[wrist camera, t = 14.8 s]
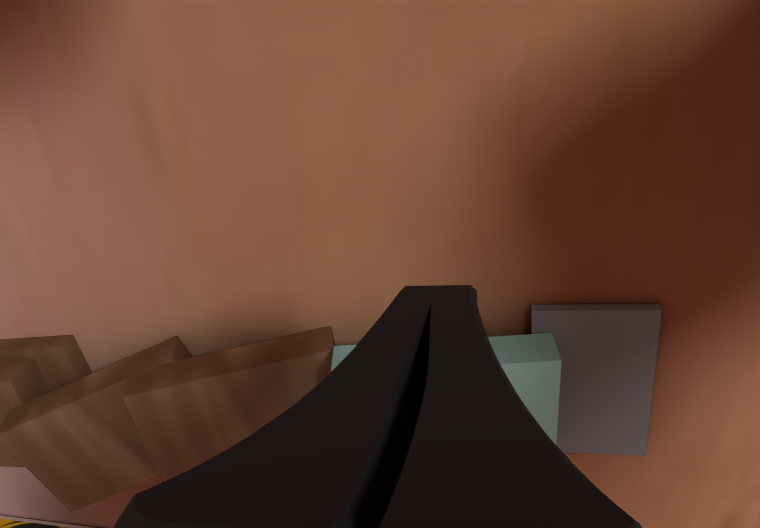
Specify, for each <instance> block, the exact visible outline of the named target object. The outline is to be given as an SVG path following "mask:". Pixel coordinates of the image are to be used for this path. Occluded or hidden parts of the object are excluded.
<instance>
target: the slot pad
mask: <svg viewBox="0 0 760 528" xmlns="http://www.w3.org/2000/svg"><path fill="white" fill-rule="evenodd" d="M661 315H662V309H661V306H660V304H537V305H531V334H543V333H552V335H553V338H554V340H555V343H556V346H557V349H558V352H559V355H560V358H561V360H562V361H561V377H560V393H559V408H558V424H557V440H556V445H557V446H558V447H559V449H560V450H561V451H562V452H563V453H589V454H615V455H642V456H646V449H647V440H648V431H649V422H650V413H651V405H652V396H653V387H654V378H655V369H656V360H657V351H658V342H659V333H660V324H661Z"/></svg>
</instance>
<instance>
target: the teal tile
mask: <svg viewBox="0 0 760 528" xmlns="http://www.w3.org/2000/svg"><path fill="white" fill-rule="evenodd" d="M488 339H489V341H490V344H491V346H492V348H493V350H494V353H495V355H496V357H497V359H498V361H499V363H500V365H501V367H502V368H503V370H504V372H505V374H506V376H507V377H508V379H509V381H510V383H511V384H512V386H513V388H514V389H515V391H516V392H517V394H518V395H519V397H520V399H521V400H522V401H523V403H524V404H525V406H526V407H527V409H528V410H529V412H530V413H531V414H532V416H533V417H534V418H535V420H536V421H537V422H538V424H539V425H540V426H541V428H542V429H543V430H544V431H545V433H546V434H547V435H548V436H549V437H550V439H551V440H552V441H553V442H554V443H555V444H556V440H557V424H558V408H559V393H560V377H561V361H562V360H561V358H560V355H559V352H558V349H557V346H556V343H555V340H554V338H553V335H552V333H543V334H526V335H509V336H492V337H488ZM355 346H356V345H342V346H334V350H333V358H332V366H331V371H332V370H333V369H334V368H335V367H336V366H337V365H338V364H339V363H340V362H341V361H342V360H343V359H344V358H345V357H346V356H347V355H348V354H349V353H350V352H351V351H352V350H353V349H354V347H355Z"/></svg>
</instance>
